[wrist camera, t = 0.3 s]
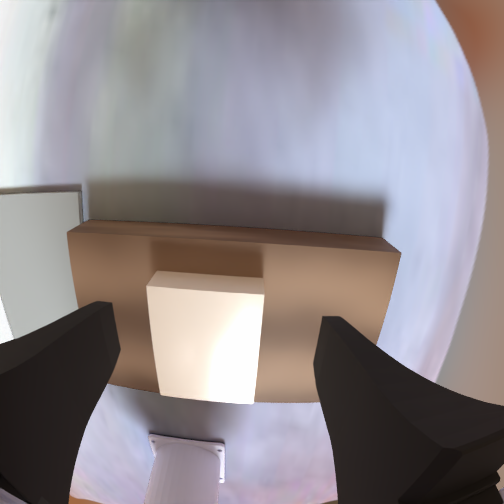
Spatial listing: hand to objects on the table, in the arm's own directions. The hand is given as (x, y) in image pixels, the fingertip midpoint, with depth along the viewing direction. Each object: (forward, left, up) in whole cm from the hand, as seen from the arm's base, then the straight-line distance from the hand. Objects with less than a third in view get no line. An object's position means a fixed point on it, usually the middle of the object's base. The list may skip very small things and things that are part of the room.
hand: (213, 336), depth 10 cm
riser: (-5, 0, -10) cm, 11 cm away
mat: (-5, +16, -10) cm, 20 cm away
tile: (-5, +1, -7) cm, 9 cm away
